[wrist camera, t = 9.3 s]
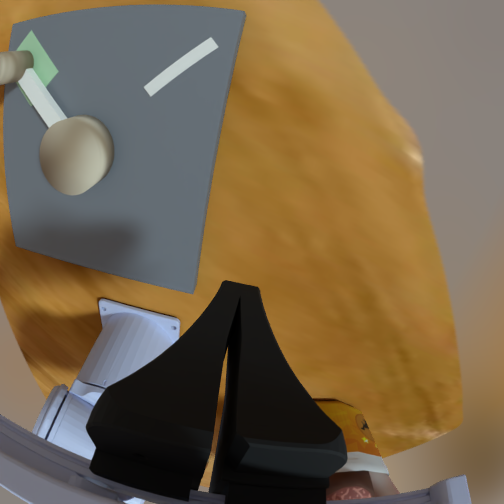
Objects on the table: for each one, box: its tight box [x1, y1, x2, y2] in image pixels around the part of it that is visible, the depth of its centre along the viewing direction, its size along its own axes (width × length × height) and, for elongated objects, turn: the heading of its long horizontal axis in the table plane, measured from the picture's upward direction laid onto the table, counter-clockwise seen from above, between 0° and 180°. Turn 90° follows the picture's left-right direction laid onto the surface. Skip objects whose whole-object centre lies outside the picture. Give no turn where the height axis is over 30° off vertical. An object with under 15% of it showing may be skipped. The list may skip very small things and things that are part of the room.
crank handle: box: [0, 50, 114, 195], centre depth 15 cm, size 13×5×4 cm, turn 34°
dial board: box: [3, 5, 246, 294], centre depth 19 cm, size 20×18×1 cm
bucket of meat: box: [315, 401, 400, 501], centre depth 27 cm, size 20×16×20 cm
